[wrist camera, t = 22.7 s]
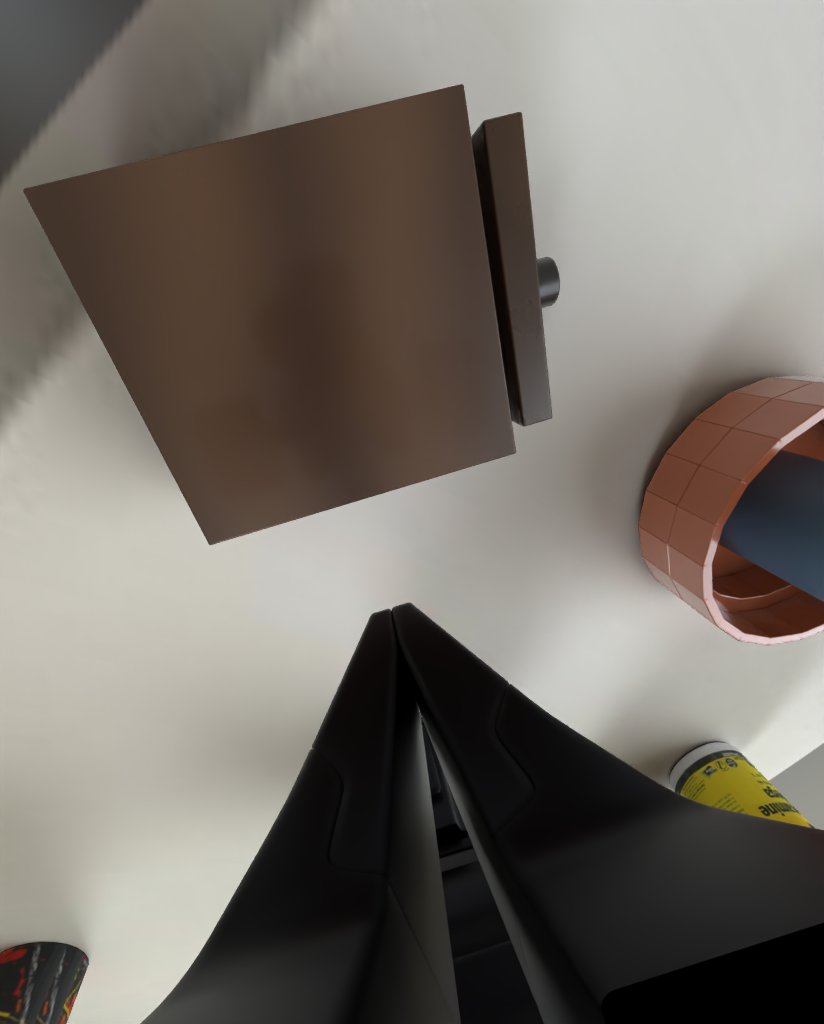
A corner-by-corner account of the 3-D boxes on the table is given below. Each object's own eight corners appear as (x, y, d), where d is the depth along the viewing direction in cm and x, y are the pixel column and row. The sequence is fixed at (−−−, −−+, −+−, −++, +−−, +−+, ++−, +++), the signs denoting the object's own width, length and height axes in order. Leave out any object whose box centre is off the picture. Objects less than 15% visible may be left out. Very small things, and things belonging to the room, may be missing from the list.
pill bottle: (748, 747, 35) (918, 915, 25) (698, 797, 36) (839, 973, 27) (702, 731, 33) (866, 907, 23) (651, 784, 34) (784, 970, 24)
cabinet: (423, 154, 15) (463, 82, 11) (473, 424, 20) (516, 453, 15) (114, 231, 15) (20, 188, 10) (237, 494, 19) (209, 546, 14)
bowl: (828, 544, 27) (928, 587, 23) (642, 620, 27) (706, 679, 22) (854, 336, 22) (994, 339, 17) (619, 429, 21) (699, 456, 17)
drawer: (514, 146, 15) (562, 100, 12) (541, 396, 19) (583, 409, 16) (195, 226, 14) (159, 199, 11) (291, 469, 18) (283, 498, 15)
